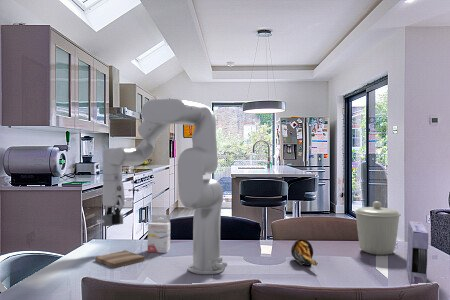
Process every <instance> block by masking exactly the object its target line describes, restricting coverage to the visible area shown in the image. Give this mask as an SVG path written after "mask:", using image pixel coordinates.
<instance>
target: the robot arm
mask: <svg viewBox="0 0 450 300" xmlns="http://www.w3.org/2000/svg"><path fill="white" fill-rule="evenodd" d="M140 113H141V117H142V119H143V121H142V122H141V123H140V124H139V125H138V128H137V132H138V135H139V136H140V137H141V138H142V140H141V142H140V143H139V144H138V145H137V146H136V147H134V146H133V147H131V146H129V147H127V146H126V147H123V146H121V147H120V146H119V147H115V148H114V147H107V148H104V149H103V150H102V193H101V194H102V197H101V200H102V206H103V208H104V212H105V215H108V214H112V224H118V223H120V213H121V211H122V210H123V208H124V205H125V203H126V202H125V199H126V198H125V187H124V182H123V167H129V166H130V167H133V166H140V165H142V164H143V163H145V162H146V161H147V160H148V159H149V158H150V157H151V156H152V155H153V154H154V151H155V147H156V145H157V143H156V142H157V140H158V139H159V138H160V136H162V134H163V133H164V132H165V131H166V130H168V129H169V127H170V126H171V125H172V124H175V125H185V126H194V129H193V132H192V133H191V134H192V136H191V140H192V147H188V148H186V149H184V150H183V151H182V152H181V153H180V154H179V157H178V160H177V181H178V184H177V185H178V196H179V200H180V202H181V204H182V205H183V206H184V208H186V209H188V210H194V212H193V221H192V250H193V251H192V262H191V263H190V264H189V265H188V271H189V272H191V273H192V274H193V273H194V274H196V275H214V274H215V275H216V274H220V273H222V272H224V271H225V269H226V268H227V267H228V263H227V262H224V261H223V256H221V217H222V214H221V213H222V205H223V200H224V190H223V189H224V188H223V186H222V185H221V183H219V181H217V180H215V179H213V178H204V176H208V175H212V174H214V173H215V172H216V171H217V169H218V164H219V162H218V161H219V160H218V159H219V158H218V146H217V145H218V142H217V119H216V116H215V113H214V111H213V110H212V109H211V108H210V107H209V106H207V105H205V104H202V103H199V102H196V101H190V100H184V99H180V98H179V99H178V98H164V99H163V98H160V99H157V98H155V99H154V98H153V99H149V100H147V101H146V102H145V103H144V104H143V105H142V106H141V112H140Z"/></svg>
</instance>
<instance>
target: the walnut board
mask: <svg viewBox="0 0 450 300" xmlns="http://www.w3.org/2000/svg"><path fill="white" fill-rule="evenodd" d="M145 257H146V256H144V255H141V254H138V253H135V252H131V251H128V250H122V251H117V252H113V253H108V254H102V255H98V256H97V255H96V256H95V259H94V260H95V262H97V263H100V264H103V265H105V266H107V267H111V268H113V269H115V268H121V267H124V266H128V265H133V264H136V263H137V264H138V263H141V262H145V260H146V259H145Z"/></svg>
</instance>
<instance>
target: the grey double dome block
mask: <svg viewBox="0 0 450 300" xmlns="http://www.w3.org/2000/svg"><path fill="white" fill-rule="evenodd" d="M96 223H97V224H101V226H102V227H111V226H118V225H123V224H124V213H120V223H118V224H112V214H108V215H106V214H102V215H101V219H97V220H96Z"/></svg>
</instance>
